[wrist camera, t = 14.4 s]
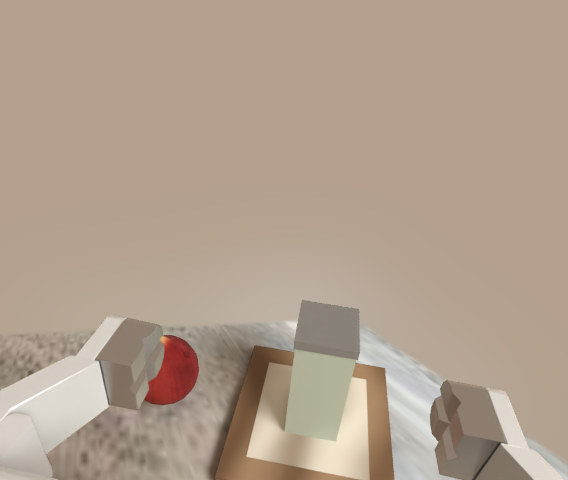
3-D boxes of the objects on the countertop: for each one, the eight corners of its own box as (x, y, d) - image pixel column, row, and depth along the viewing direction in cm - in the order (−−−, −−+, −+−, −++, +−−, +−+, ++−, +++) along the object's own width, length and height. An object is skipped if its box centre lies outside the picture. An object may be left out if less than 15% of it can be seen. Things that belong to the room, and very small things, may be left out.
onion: (164, 363, 40) (157, 304, 36) (211, 385, 38) (209, 325, 34) (123, 407, 35) (109, 345, 31) (173, 435, 34) (166, 372, 29)
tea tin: (283, 432, 33) (294, 340, 28) (290, 387, 37) (301, 300, 32) (337, 443, 33) (359, 352, 27) (338, 396, 37) (359, 309, 31)
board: (215, 483, 30) (214, 476, 30) (254, 351, 42) (254, 344, 42) (394, 521, 29) (397, 514, 29) (382, 374, 41) (384, 367, 40)
